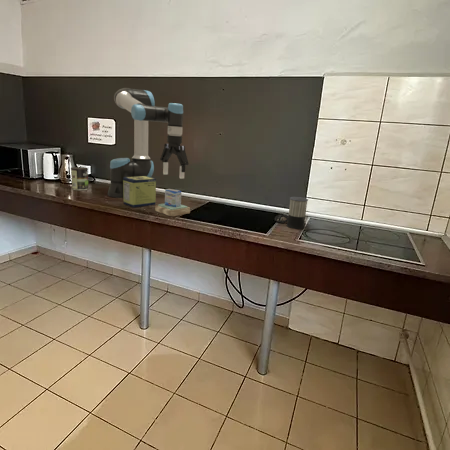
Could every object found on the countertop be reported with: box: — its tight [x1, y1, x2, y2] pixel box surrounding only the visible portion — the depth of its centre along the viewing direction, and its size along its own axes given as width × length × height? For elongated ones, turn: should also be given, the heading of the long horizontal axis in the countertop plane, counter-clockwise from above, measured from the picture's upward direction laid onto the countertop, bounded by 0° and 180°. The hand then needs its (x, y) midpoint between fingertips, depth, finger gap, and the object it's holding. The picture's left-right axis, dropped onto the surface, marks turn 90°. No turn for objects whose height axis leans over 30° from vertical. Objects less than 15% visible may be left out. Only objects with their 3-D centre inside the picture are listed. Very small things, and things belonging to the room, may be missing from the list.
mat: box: [157, 203, 189, 210], centre depth 181 cm, size 12×11×1 cm
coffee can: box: [70, 166, 90, 191], centre depth 220 cm, size 10×10×14 cm
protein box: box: [123, 176, 157, 208], centre depth 191 cm, size 10×16×16 cm
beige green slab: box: [154, 204, 191, 217], centre depth 181 cm, size 14×13×3 cm
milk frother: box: [274, 196, 309, 230], centre depth 172 cm, size 14×16×15 cm
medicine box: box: [164, 188, 182, 207], centre depth 179 cm, size 8×4×9 cm, turn 61°
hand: (173, 176), depth 176 cm, fingers open, 13 cm apart
